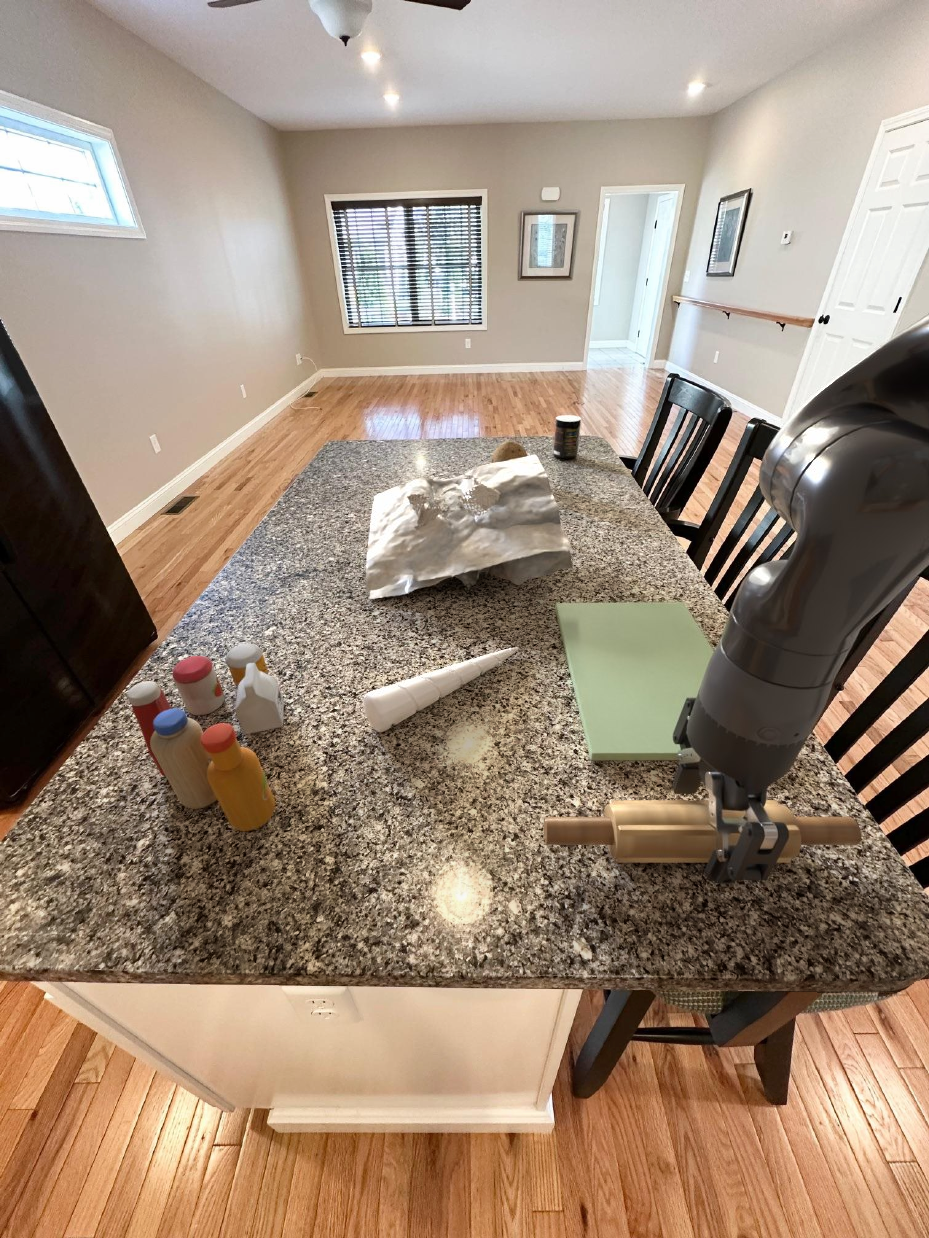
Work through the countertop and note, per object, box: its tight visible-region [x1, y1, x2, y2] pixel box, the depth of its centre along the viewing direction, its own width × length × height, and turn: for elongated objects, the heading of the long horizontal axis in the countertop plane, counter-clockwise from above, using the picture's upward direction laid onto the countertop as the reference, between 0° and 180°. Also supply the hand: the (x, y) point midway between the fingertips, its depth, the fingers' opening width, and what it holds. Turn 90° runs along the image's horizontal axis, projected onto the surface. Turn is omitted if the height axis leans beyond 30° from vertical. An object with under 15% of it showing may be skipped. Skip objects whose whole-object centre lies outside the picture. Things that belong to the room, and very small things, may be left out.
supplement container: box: [552, 414, 582, 462], centre depth 140 cm, size 7×7×10 cm
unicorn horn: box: [362, 646, 520, 733], centre depth 65 cm, size 5×24×5 cm, turn 124°
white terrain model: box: [365, 454, 574, 600], centre depth 95 cm, size 35×16×32 cm
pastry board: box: [554, 601, 715, 761], centre depth 69 cm, size 30×20×1 cm, turn 179°
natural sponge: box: [490, 440, 528, 464], centre depth 125 cm, size 9×9×10 cm
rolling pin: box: [543, 799, 862, 864], centre depth 47 cm, size 28×5×5 cm, turn 89°
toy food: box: [126, 643, 285, 832], centre depth 57 cm, size 27×13×12 cm, turn 15°
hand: (699, 830), depth 47 cm, fingers open, 8 cm apart
